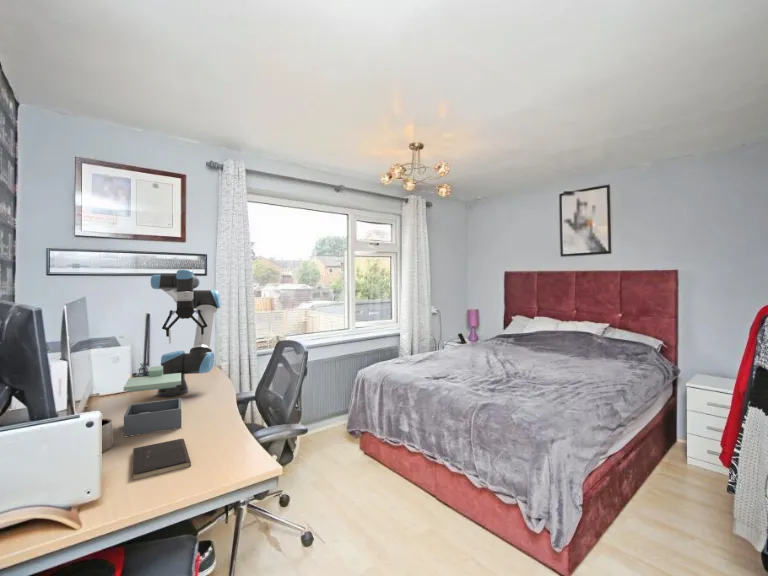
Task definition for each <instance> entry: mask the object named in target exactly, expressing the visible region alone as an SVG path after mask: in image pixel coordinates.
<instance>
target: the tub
mask: <svg viewBox="0 0 768 576" xmlns="http://www.w3.org/2000/svg"><path fill="white" fill-rule="evenodd" d="M175 428H177V429H181V428H182V398H181V397H180V398H173V399H164V400H157V401H150V402H140V403H133V404H128V407H127V409H126V410H125V413H124V415H123V437H124V438H126V437H125V436H128V437H132V436H131V435H134V436H139V435H138V434H140V435H145V434H144V433H146V434H151V433H157V432H164V430H165V431H169V430H170V429H171V430H176V429H175ZM171 430H170V431H171Z"/></svg>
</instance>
